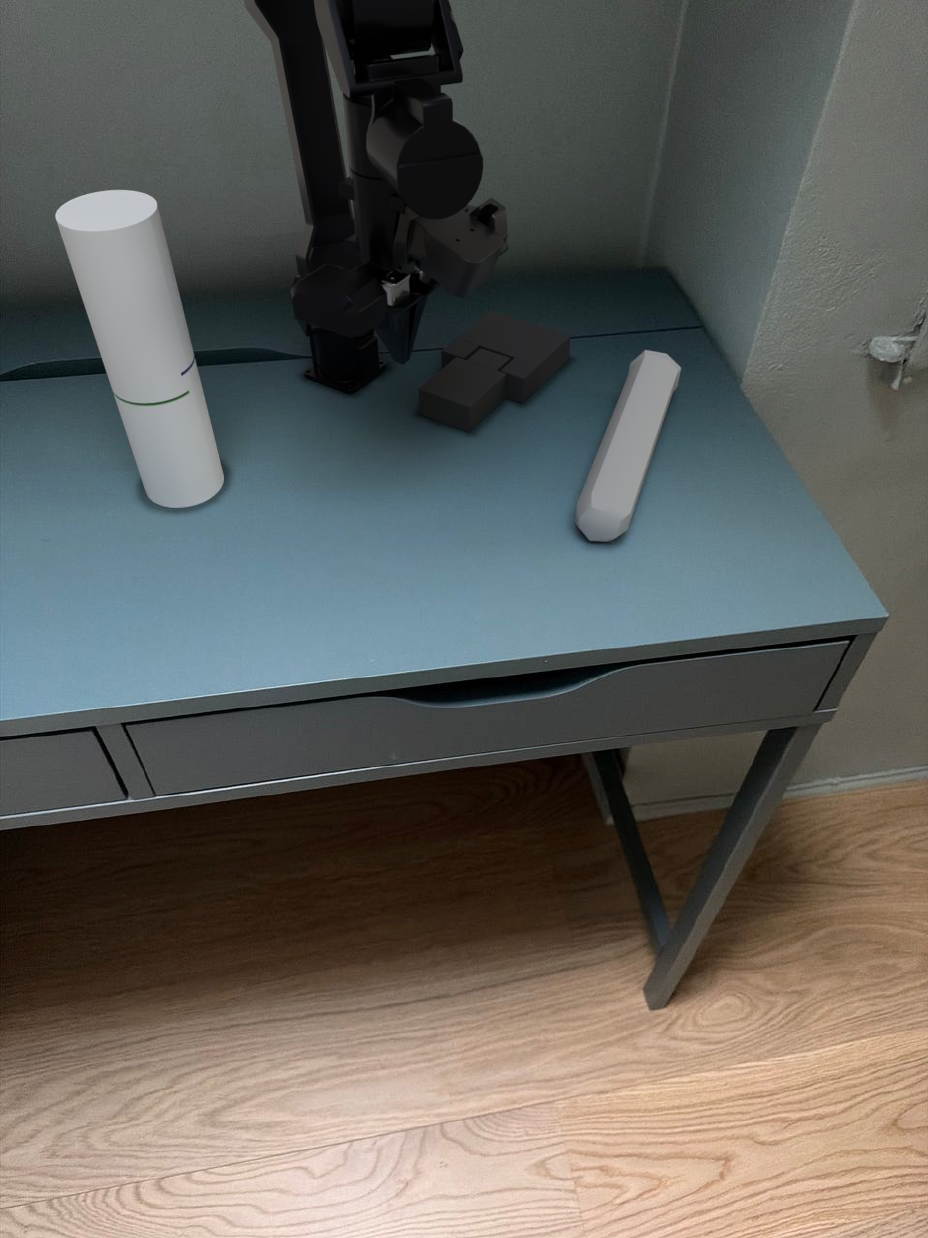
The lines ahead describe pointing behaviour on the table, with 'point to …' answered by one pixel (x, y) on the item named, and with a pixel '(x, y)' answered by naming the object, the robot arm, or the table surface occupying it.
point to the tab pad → (465, 390)
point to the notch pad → (514, 351)
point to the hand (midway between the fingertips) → (401, 361)
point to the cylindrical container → (143, 341)
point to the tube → (627, 447)
